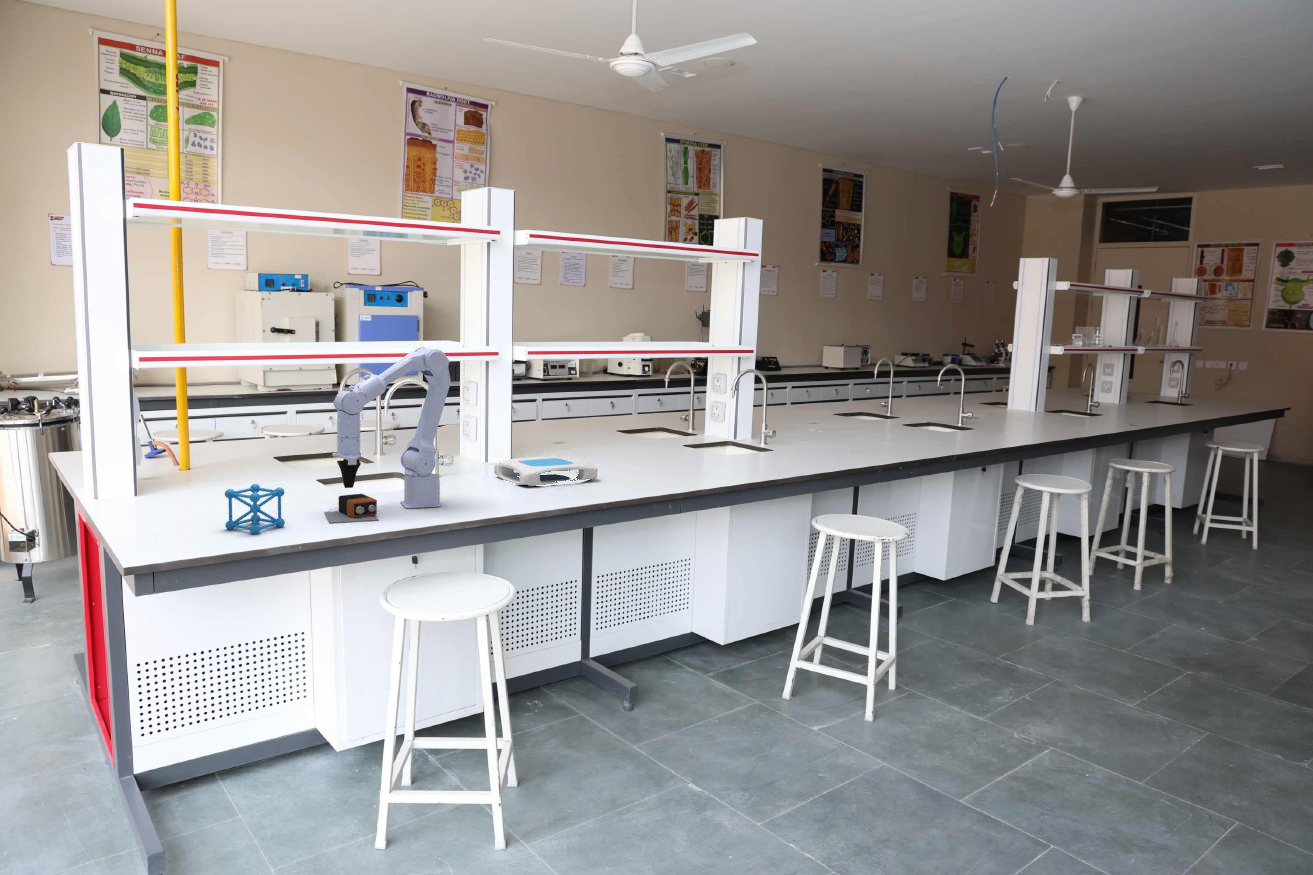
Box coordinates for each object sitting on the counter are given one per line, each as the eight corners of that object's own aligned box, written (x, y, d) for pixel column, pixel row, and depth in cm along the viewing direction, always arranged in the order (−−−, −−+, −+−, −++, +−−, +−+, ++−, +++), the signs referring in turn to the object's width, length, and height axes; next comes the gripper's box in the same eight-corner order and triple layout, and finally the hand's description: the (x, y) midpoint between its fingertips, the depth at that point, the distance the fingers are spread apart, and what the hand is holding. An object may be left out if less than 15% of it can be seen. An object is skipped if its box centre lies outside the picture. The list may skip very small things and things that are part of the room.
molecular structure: (223, 530, 210) (222, 489, 209) (255, 521, 220) (255, 482, 218) (255, 535, 207) (254, 494, 206) (287, 526, 216) (286, 487, 215)
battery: (337, 495, 232) (353, 502, 225) (362, 493, 237) (378, 499, 230) (337, 511, 233) (353, 519, 226) (362, 508, 238) (378, 516, 230)
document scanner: (598, 482, 294) (598, 464, 293) (525, 489, 276) (525, 470, 276) (564, 472, 310) (564, 454, 309) (493, 478, 293) (493, 459, 292)
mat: (371, 510, 237) (371, 509, 237) (378, 520, 227) (378, 519, 227) (324, 512, 232) (324, 511, 232) (329, 523, 221) (329, 522, 221)
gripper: (329, 433, 235) (329, 482, 237) (336, 441, 222) (336, 493, 224) (357, 432, 238) (356, 481, 240) (365, 440, 226) (364, 492, 227)
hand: (348, 487), depth 233 cm, fingers closed
